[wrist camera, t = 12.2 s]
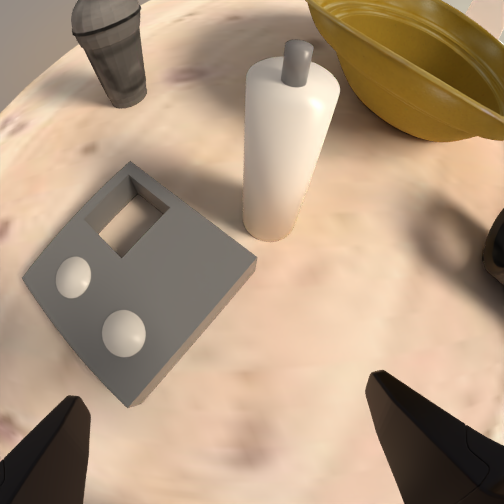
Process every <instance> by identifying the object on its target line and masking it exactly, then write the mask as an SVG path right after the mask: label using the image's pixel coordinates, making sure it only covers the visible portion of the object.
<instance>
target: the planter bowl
mask: <svg viewBox="0 0 504 504" xmlns="http://www.w3.org/2000/svg"><path fill="white" fill-rule="evenodd" d="M305 1H306V2H308V6H309V10H310V13H311V16H312V18H313V21H314V23H315V26H316V27H317V29H318V31H319V32H320V34H321V35H322V36H323V38H324V39H325V40H326V41H327V43H328V44H329V45H330V46H331V47H332V48H333V49H334V50H335V51H336V53H337V56H338V59H339V62H340V65H341V67H342V70H343V72H344V74H345V77H346V79H347V81H348V83H349V85H350V87H351V88H352V90H353V91H354V93H355V94H356V95H357V96H358V98H359V99H360V100H361V101H362V102H363V103H364V104H365V105H366V106H367V107H368V108H369V109H370V110H372V111H373V112H374V113H375V114H376V115H378V116H379V117H380V118H382V119H383V120H384V121H386V122H387V123H389V124H391V125H392V126H394V127H396V128H397V129H399V130H401V131H403V132H406V133H408V134H410V135H413V136H415V137H418V138H421V139H425V140H429V141H434V142H452V141H459V140H463V139H468V138H472V137H475V136H479V137H482V138H486V139H491V140H498V141H503V140H504V45H503V44H502V43H501V42H499V41H498V40H497V39H496V38H495V37H494V36H493V35H491V34H490V33H489V32H488V31H487V30H485V29H484V28H483V27H482V26H480V25H479V24H478V23H476V22H475V21H474V20H472V19H471V18H469V17H468V16H466V15H465V14H463V13H462V12H460V11H459V10H457V9H455V8H453V7H452V6H450V5H449V4H447V3H445V2H443V1H442V0H305Z"/></svg>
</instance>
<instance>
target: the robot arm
mask: <svg viewBox="0 0 504 504" xmlns="http://www.w3.org/2000/svg"><path fill="white" fill-rule="evenodd" d="M365 394H366V398H367V401H368V405H369V408H370V412H371V415H372V419H373V422H374V426H375V430H376V433H377V436H378V438H379V441H380V443H381V446H382V448H383V451H384V453H385V456H386V458H387V461H388V463H389V466H390V468H391V471H392V473H393V476H394V478H395V481H396V483H397V486H398V488H399V491H400V493H401V496H402V499H403V501H404V504H504V446H503V445H501V444H499V443H497V442H495V441H493V440H491V439H489V438H487V437H485V436H484V435H482V434H480V433H479V432H477V431H475V430H474V429H472V428H471V427H469V426H468V425H465V424H464V423H463V422H461V421H460V420H458V419H457V418H455V417H454V416H452V415H451V414H449V413H448V412H446V411H444V410H443V409H441V408H440V407H438V406H437V405H435V404H434V403H432V402H431V401H429V400H428V399H426V398H425V397H423V396H422V395H420V394H419V393H417V392H416V391H414V390H413V389H411V388H410V387H408V386H407V385H405V384H404V383H402V382H401V381H399V380H398V379H397V378H395V377H394V376H392V375H391V374H389V373H388V372H386V371H384V370H379V371H375V372H372V373H371V374H370V376H369V379H368V383H367V386H366V390H365ZM90 423H91V415H90V412H89V410H88V408H87V407H86V405H85V404H84V402H83V401H82V399H81V398H80V397H79V396H71V395H69V396H67V397H66V398H65V399H64V400H62V401H61V402H60V403H59V404H58V405H57V406H56V407H55V408H54V409H53V410H52V411H51V412H50V413H49V414H48V415H47V416H46V417H45V418H44V419H43V420H42V421H41V422H40V423H39V424H38V425H37V426H36V427H35V428H34V429H33V430H32V431H31V432H30V433H29V434H28V435H27V436H26V437H25V438H24V439H23V440H22V441H21V442H20V443H19V444H18V445H17V446H16V447H15V448H14V449H13V450H12V451H11V452H10V453H9V454H8V455H7V456H6V457H5V458H4V460H2V461H1V462H0V504H83V498H84V489H85V480H86V473H87V465H88V457H89V438H90Z"/></svg>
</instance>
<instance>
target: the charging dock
mask: <svg viewBox="0 0 504 504" xmlns="http://www.w3.org/2000/svg"><path fill="white" fill-rule="evenodd" d="M137 194H140V195H141V196H142V197H143V198H145V199H146V200H147V201H148V202H149V203H151V204H152V205H153V206H154V207H156V208H157V209H158V210H159V211H160V212H162V213H163V215H162V216H161V217H160V219H159V220H158V221H157V222H156V223H155V224H154V225H153V226H152V227H151V228H150V229H149V230H148V231H147V232H146V233H145V234H144V235H143V236H142V237H141V238H140V239H139V240H138V241H137V242H136V244H135V245H134V246H133V247H132V248H131V249H130V250H129V251H128V252H127V253H126V254H125V255H124V257H123V258H121V257H120V256H119V255H118V254H117V253H116V252H115V251H114V250H113V249H112V248H111V247H110V246H109V245H108V244H107V243H106V242H105V241H104V240H103V239H102V238H101V237H100V236H99V235H98V234H99V233H100V232H101V231H102V230H103V228H104V227H105V226H106V225H107V224H108V223H109V222H110V221H111V220H112V219H113V218H114V217H115V216H116V215H117V214H118V213H119V212H120V211H121V210H122V209H123V208H124V207H125V206H126V205H127V204H128V203H129V202H130V201H131V200H132V199H133V198H134V197H135V196H136V195H137ZM256 262H257V257H256V256H255V255H254V254H252V253H251V252H250V251H248V250H247V249H246V248H244V247H243V246H242V245H240V244H239V243H238V242H236V241H235V240H234V239H232V238H231V237H230V236H228V235H227V234H226V233H224V232H223V231H222V230H221V229H219V228H218V227H217V226H215V225H214V224H213V223H211V222H210V221H209V220H207V219H206V218H205V217H203V216H202V215H201V214H199V213H198V212H197V211H195V210H194V209H193V208H191V207H190V206H189V205H188V204H186V203H185V202H184V201H182V200H181V199H180V198H178V197H177V196H176V195H174V194H173V193H172V192H170V191H169V190H168V189H166V188H165V187H164V186H162V185H161V184H160V183H158V182H157V181H156V180H155V179H153V178H152V177H151V176H149V175H148V174H147V173H145V172H144V171H143V170H141V169H140V168H139V167H137V166H136V165H135V164H133V163H132V162H131V161H130V162H129V163H128V164H126V165H125V166H124V167H123V168H122V169H121V170H120V171H119V172H118V173H117V174H116V175H115V176H113V177H112V178H111V179H110V180H109V181H108V182H107V183H106V184H105V185H104V186H103V187H102V188H101V189H100V190H99V191H98V192H97V193H96V194H95V195H94V196H93V197H92V198H91V199H90V200H89V201H88V202H87V203H86V204H85V205H84V206H83V207H82V208H81V209H80V210H79V211H78V212H77V214H76V215H75V216H74V217H73V218H72V219H71V220H70V221H69V222H68V223H67V224H66V226H65V227H64V228H63V229H62V230H61V231H60V232H59V233H58V235H57V236H56V237H55V238H54V239H53V240H52V241H51V243H50V244H49V245H48V246H47V247H46V249H45V250H44V251H43V252H42V253H41V255H40V256H39V257H38V258H37V260H36V261H35V262H34V263H33V265H32V266H31V267H30V268H29V270H28V271H27V272H26V274H25V275H24V276H23V277H22V279H23V281H24V282H25V284H26V285H27V287H28V289H29V290H30V292H31V293H32V295H33V296H34V298H35V299H36V301H37V302H38V303H39V305H40V306H41V308H42V309H43V311H44V312H45V313H46V315H47V316H48V318H49V319H50V320H51V322H52V323H53V324H54V326H55V327H56V328H57V330H58V331H59V332H60V334H61V335H62V336H63V337H64V339H65V340H66V341H67V343H68V344H69V345H70V346H71V347H72V349H73V350H74V351H75V352H76V353H77V355H78V356H79V357H80V358H81V359H82V361H83V362H84V363H85V364H86V365H87V366H88V367H89V369H90V370H91V371H92V372H93V373H94V374H95V375H96V376H97V377H98V379H99V380H100V381H101V382H102V383H103V384H104V385H105V386H106V387H107V388H108V389H109V390H110V391H111V392H112V393H113V394H114V395H115V396H116V397H117V398H118V399H119V400H120V401H121V402H122V403H123V404H124V405H125V406H126V407H127V408H130V407H133V406H136V405H139V404H141V403H142V402H143V401H144V400H145V399H146V398H147V397H148V395H149V394H150V393H151V392H152V391H153V390H154V389H155V387H156V386H157V385H158V384H159V383H160V382H161V380H162V379H163V378H164V377H165V376H166V375H167V374H168V372H169V371H170V370H171V369H172V368H173V367H174V365H175V364H176V363H177V362H178V361H179V360H180V359H181V357H182V356H183V355H184V354H185V353H186V352H187V350H188V349H189V348H190V347H191V346H192V345H193V343H194V342H195V341H196V340H197V339H198V338H199V336H200V335H201V334H202V333H203V332H204V331H205V329H206V328H207V327H208V326H209V325H210V324H211V322H212V321H213V320H214V319H215V318H216V317H217V315H218V314H219V313H220V312H221V311H222V309H223V308H224V307H225V306H226V305H227V304H228V302H229V301H230V300H231V299H232V298H233V296H234V295H235V294H236V293H237V292H238V291H239V289H240V288H241V287H242V286H243V285H244V283H245V282H246V281H247V280H248V279H249V277H250V276H251V275H252V274H253V273H254V272H255V269H256Z"/></svg>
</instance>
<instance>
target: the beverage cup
mask: <svg viewBox="0 0 504 504" xmlns="http://www.w3.org/2000/svg"><path fill="white" fill-rule="evenodd" d="M140 10H141V6H140V5H139V4H138V1H137V0H78V1H77V3H76V5H75V7H74V9H73V12H72V18H71V22H72V33H73V35H74V36H75V37H76V39H77V41H78V43H79V44H80V46H81V47H82V48H83V49H84V51H85V53H86V55H87V57H88V59H89V61H90V63H91V65H92V67H93V69H94V71H95V73H96V75H97V77H98V79H99V81H100V83H101V85H102V87H103V88H104V90H105V92H106V94H107V96H108V97H109V99H110V101H111V102H112V104H113V106H115V107H116V108H127V107H131V106H133V105H136V104H137V103H139V102H140V101H142V100H143V99H144V97H145V96H146V94H147V89H146V77H145V70H144V63H143V55H142V47H141V38H140V29H139V26H140Z"/></svg>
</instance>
